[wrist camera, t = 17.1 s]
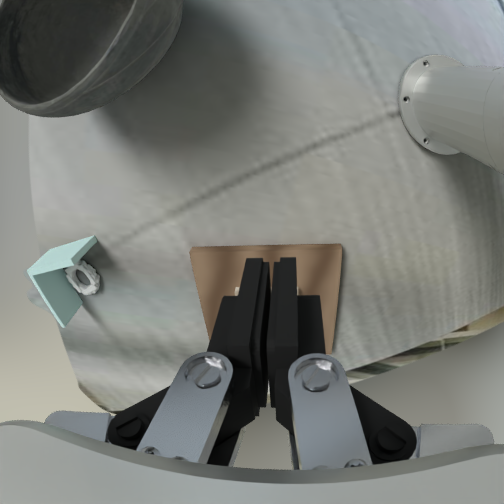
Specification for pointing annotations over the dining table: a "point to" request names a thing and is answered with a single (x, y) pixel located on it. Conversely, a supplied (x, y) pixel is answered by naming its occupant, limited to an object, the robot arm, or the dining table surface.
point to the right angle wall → (64, 278)
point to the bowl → (80, 50)
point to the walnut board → (308, 276)
